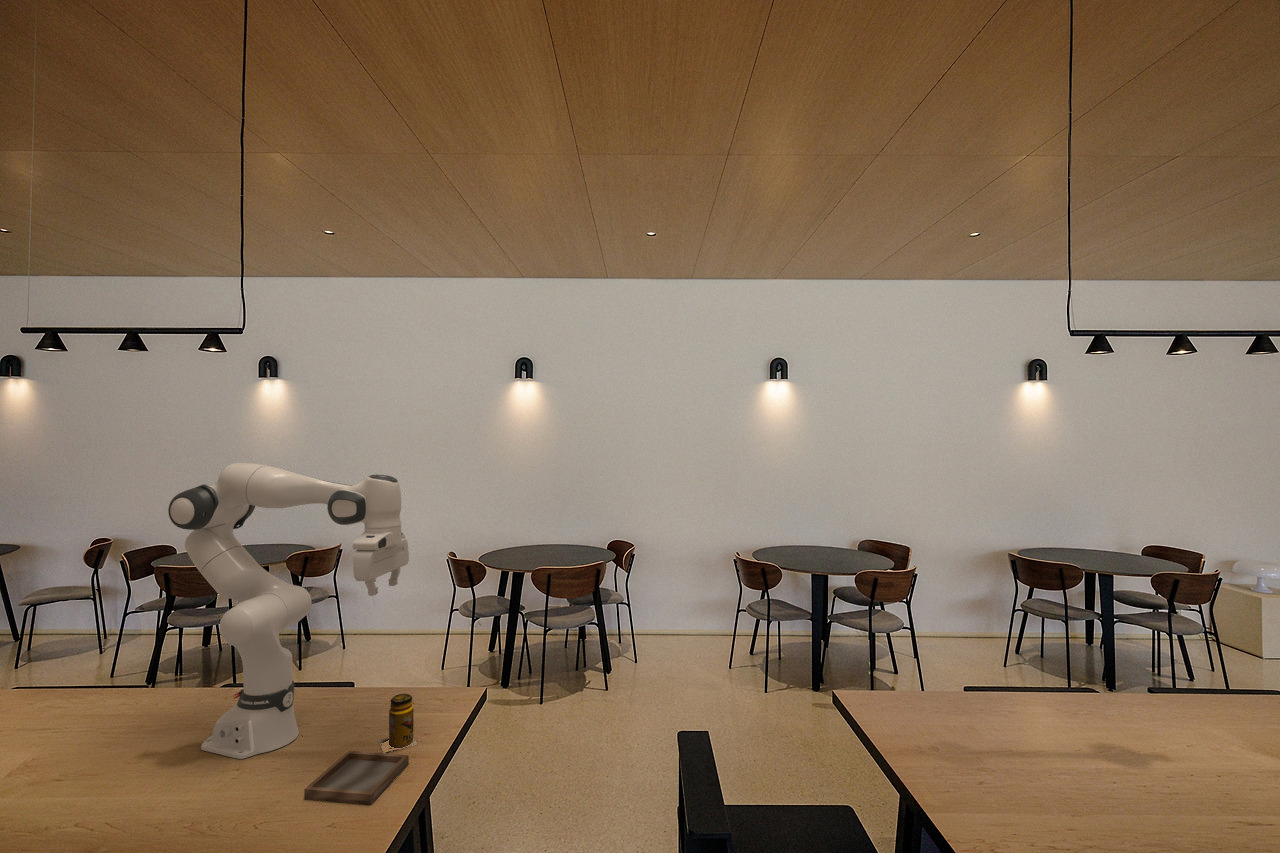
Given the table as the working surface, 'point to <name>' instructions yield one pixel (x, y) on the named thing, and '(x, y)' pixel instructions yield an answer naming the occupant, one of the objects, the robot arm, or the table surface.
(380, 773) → the square wooden tray
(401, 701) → the condiment
